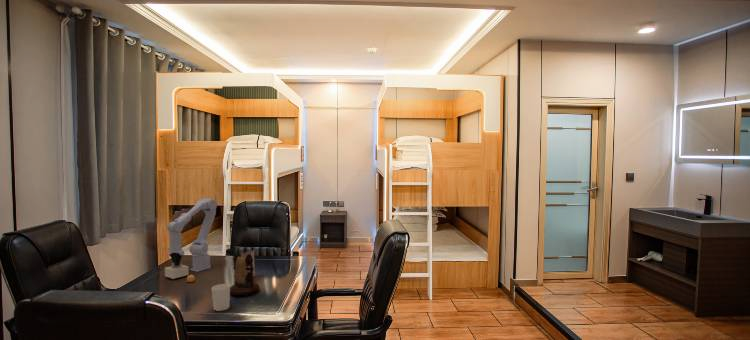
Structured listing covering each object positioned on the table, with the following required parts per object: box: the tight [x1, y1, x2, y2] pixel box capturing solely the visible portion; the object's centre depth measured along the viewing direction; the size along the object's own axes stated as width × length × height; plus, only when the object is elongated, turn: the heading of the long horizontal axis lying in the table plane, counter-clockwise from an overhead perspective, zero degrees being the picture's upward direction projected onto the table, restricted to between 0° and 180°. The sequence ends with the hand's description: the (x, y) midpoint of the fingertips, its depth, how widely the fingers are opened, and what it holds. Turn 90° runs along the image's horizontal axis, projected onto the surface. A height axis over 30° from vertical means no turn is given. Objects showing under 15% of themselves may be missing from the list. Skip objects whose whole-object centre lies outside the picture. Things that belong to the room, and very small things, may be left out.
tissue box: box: [164, 261, 189, 280], centre depth 217 cm, size 9×9×8 cm
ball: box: [186, 274, 196, 283], centre depth 208 cm, size 4×4×4 cm
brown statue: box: [230, 252, 260, 298], centre depth 191 cm, size 15×15×20 cm
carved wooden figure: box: [240, 250, 256, 277], centre depth 211 cm, size 11×7×15 cm, turn 149°
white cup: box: [211, 283, 231, 312], centre depth 172 cm, size 8×8×10 cm
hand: (176, 265), depth 217 cm, fingers closed on tissue box
